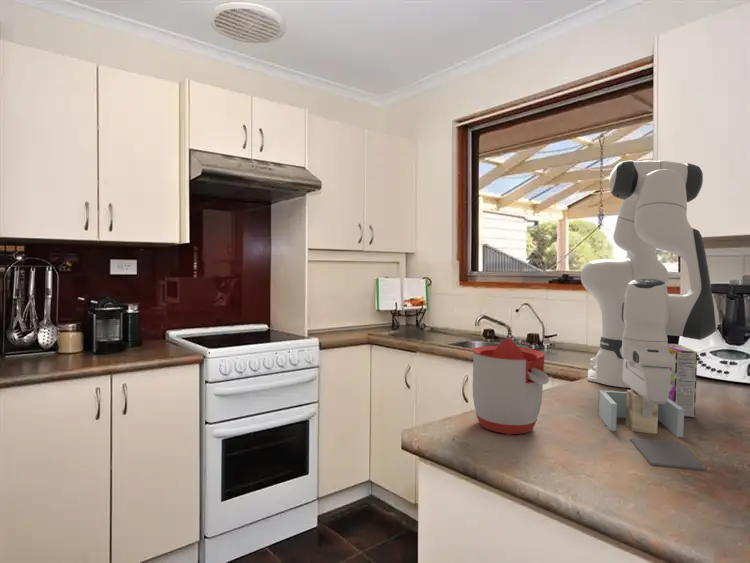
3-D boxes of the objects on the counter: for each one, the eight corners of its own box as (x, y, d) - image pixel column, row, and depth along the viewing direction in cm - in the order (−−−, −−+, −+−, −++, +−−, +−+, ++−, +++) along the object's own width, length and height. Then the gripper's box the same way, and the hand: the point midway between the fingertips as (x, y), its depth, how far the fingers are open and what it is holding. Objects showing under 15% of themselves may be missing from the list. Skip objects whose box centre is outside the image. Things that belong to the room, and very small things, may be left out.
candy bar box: (655, 403, 127) (658, 343, 126) (676, 405, 126) (679, 343, 125) (673, 416, 116) (676, 350, 115) (696, 418, 115) (698, 351, 114)
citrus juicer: (519, 447, 94) (522, 347, 93) (455, 422, 108) (458, 335, 107) (564, 432, 103) (567, 341, 102) (500, 411, 117) (502, 331, 116)
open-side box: (597, 414, 116) (598, 389, 116) (662, 419, 113) (663, 394, 113) (610, 430, 105) (611, 403, 104) (683, 437, 101) (684, 409, 101)
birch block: (625, 424, 109) (626, 389, 109) (649, 426, 108) (650, 391, 108) (632, 431, 104) (633, 395, 104) (657, 433, 103) (658, 397, 103)
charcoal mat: (630, 439, 99) (630, 437, 99) (678, 444, 97) (678, 442, 97) (650, 464, 86) (650, 462, 86) (706, 470, 84) (706, 468, 84)
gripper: (616, 343, 117) (614, 399, 117) (642, 359, 97) (640, 425, 97) (644, 345, 115) (642, 401, 116) (677, 361, 95) (674, 428, 96)
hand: (641, 412), depth 106 cm, fingers closed on birch block, 5 cm apart
